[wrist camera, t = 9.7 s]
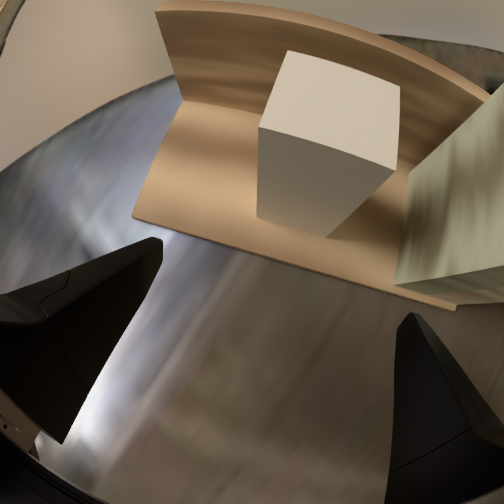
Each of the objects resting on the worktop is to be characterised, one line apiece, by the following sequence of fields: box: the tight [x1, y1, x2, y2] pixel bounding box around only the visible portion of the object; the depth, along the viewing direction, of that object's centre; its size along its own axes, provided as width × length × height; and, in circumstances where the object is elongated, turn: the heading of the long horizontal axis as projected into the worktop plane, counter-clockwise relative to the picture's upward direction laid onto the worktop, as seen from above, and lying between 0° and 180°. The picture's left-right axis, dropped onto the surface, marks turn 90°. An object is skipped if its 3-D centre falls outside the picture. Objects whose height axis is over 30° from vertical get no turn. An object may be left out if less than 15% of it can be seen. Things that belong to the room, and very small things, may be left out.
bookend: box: [256, 50, 400, 238], centre depth 13 cm, size 4×4×10 cm
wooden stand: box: [131, 0, 504, 311], centre depth 13 cm, size 11×24×13 cm, turn 74°
